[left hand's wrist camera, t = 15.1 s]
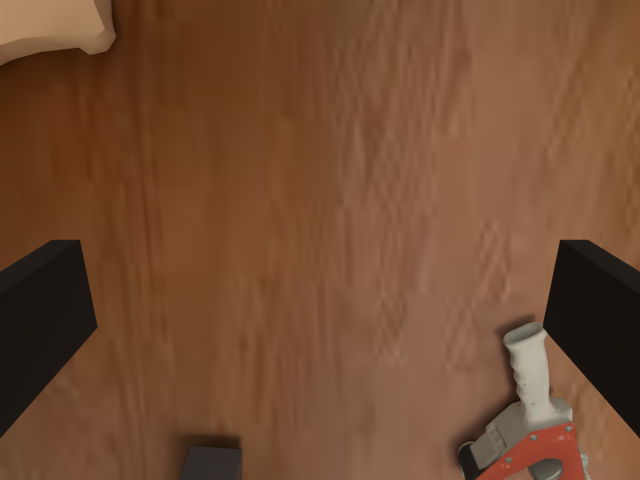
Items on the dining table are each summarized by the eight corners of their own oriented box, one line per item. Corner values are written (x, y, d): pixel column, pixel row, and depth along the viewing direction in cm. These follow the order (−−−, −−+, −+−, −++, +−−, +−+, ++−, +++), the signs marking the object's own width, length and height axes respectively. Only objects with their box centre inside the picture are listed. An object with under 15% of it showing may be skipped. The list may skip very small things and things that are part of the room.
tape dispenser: (514, 302, 45) (402, 442, 50) (539, 326, 40) (411, 479, 45) (645, 382, 47) (526, 508, 52) (683, 414, 42) (548, 551, 47)
